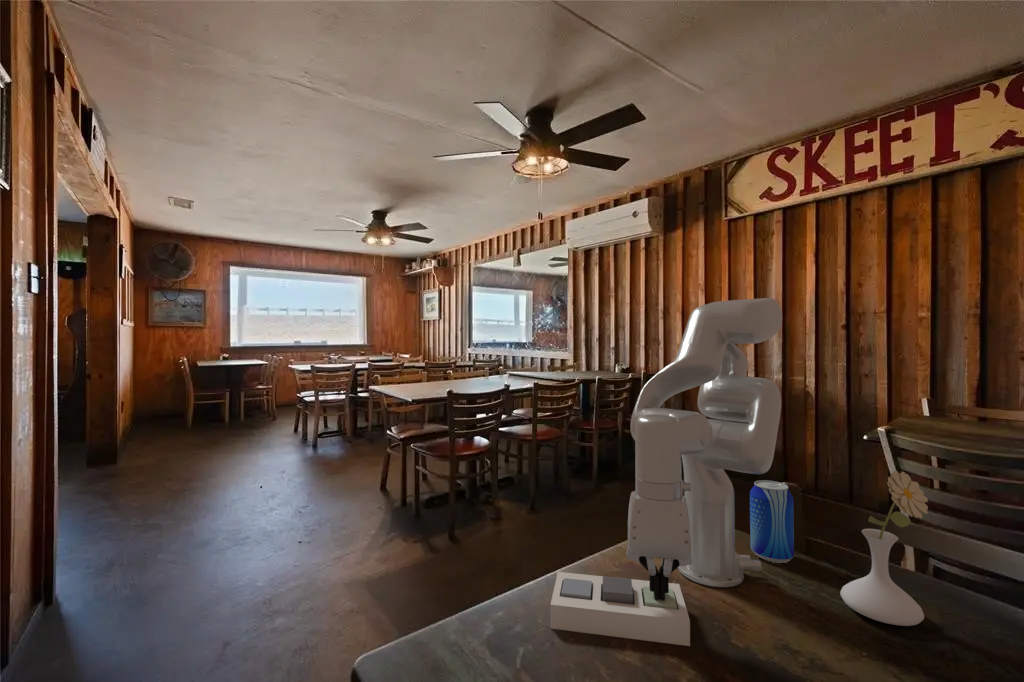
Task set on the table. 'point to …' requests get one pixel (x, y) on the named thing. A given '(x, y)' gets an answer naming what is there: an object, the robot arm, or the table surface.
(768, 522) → the beer can
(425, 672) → the table surface
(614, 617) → the keypad
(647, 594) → the sage key
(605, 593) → the charcoal key
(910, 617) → the flower in vase
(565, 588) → the slate key
